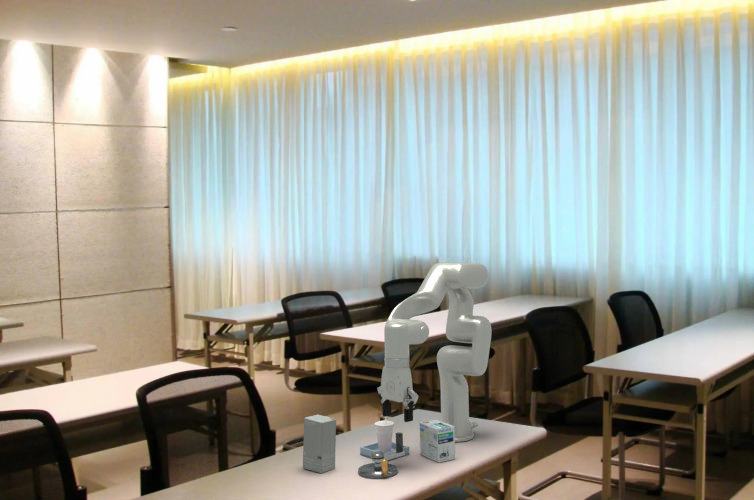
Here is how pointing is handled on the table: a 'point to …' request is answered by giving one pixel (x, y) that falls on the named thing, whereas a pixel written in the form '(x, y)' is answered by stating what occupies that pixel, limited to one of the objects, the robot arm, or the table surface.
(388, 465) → the crank base
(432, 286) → the robot arm
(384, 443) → the smoothie
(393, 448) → the tray
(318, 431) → the skincare box
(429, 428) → the light bulb box
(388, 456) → the crank
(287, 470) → the table surface
